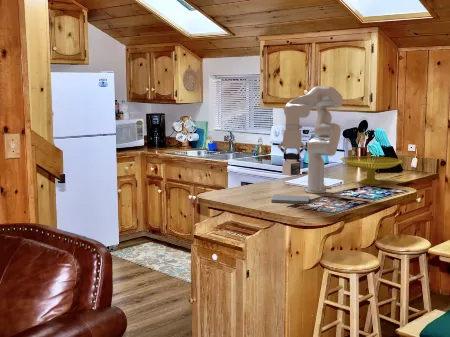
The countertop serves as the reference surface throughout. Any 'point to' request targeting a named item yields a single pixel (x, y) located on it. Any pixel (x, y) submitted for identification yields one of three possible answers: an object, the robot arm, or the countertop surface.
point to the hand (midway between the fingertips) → (291, 160)
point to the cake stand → (371, 166)
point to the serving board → (290, 199)
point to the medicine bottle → (291, 165)
